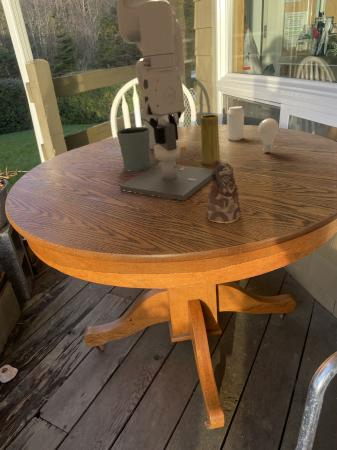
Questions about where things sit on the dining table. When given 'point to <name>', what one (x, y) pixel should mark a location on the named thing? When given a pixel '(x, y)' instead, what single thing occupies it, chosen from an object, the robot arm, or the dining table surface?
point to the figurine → (223, 194)
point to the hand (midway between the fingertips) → (166, 140)
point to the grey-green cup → (135, 147)
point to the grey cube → (168, 144)
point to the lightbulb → (268, 133)
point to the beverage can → (235, 123)
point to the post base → (169, 180)
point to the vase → (209, 139)
